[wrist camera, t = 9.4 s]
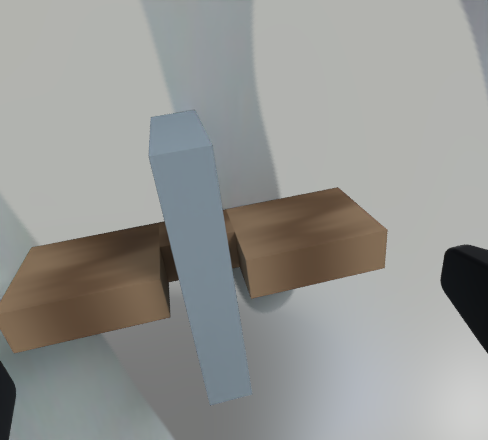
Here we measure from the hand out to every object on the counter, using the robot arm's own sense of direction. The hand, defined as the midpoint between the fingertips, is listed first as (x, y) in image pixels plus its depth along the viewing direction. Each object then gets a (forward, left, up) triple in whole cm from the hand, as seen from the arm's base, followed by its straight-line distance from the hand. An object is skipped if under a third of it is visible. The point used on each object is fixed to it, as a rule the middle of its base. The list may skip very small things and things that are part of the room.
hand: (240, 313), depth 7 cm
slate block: (+1, +4, -12) cm, 13 cm away
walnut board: (+1, +5, -12) cm, 13 cm away
